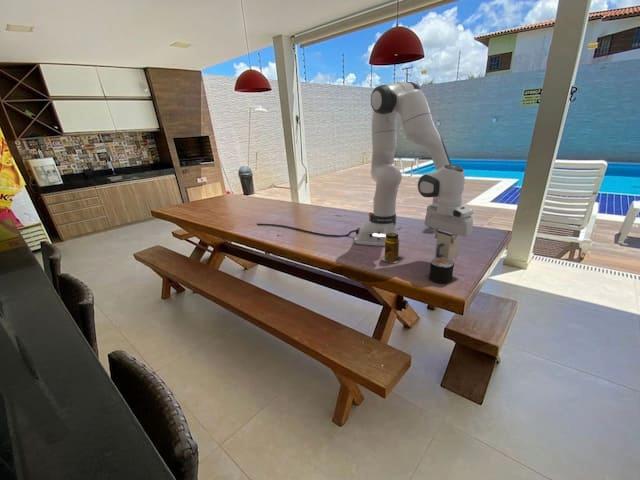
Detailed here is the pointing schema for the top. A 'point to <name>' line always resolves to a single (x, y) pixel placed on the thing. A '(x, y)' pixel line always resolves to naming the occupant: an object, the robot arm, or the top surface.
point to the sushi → (441, 270)
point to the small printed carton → (446, 246)
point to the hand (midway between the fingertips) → (445, 240)
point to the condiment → (392, 248)
